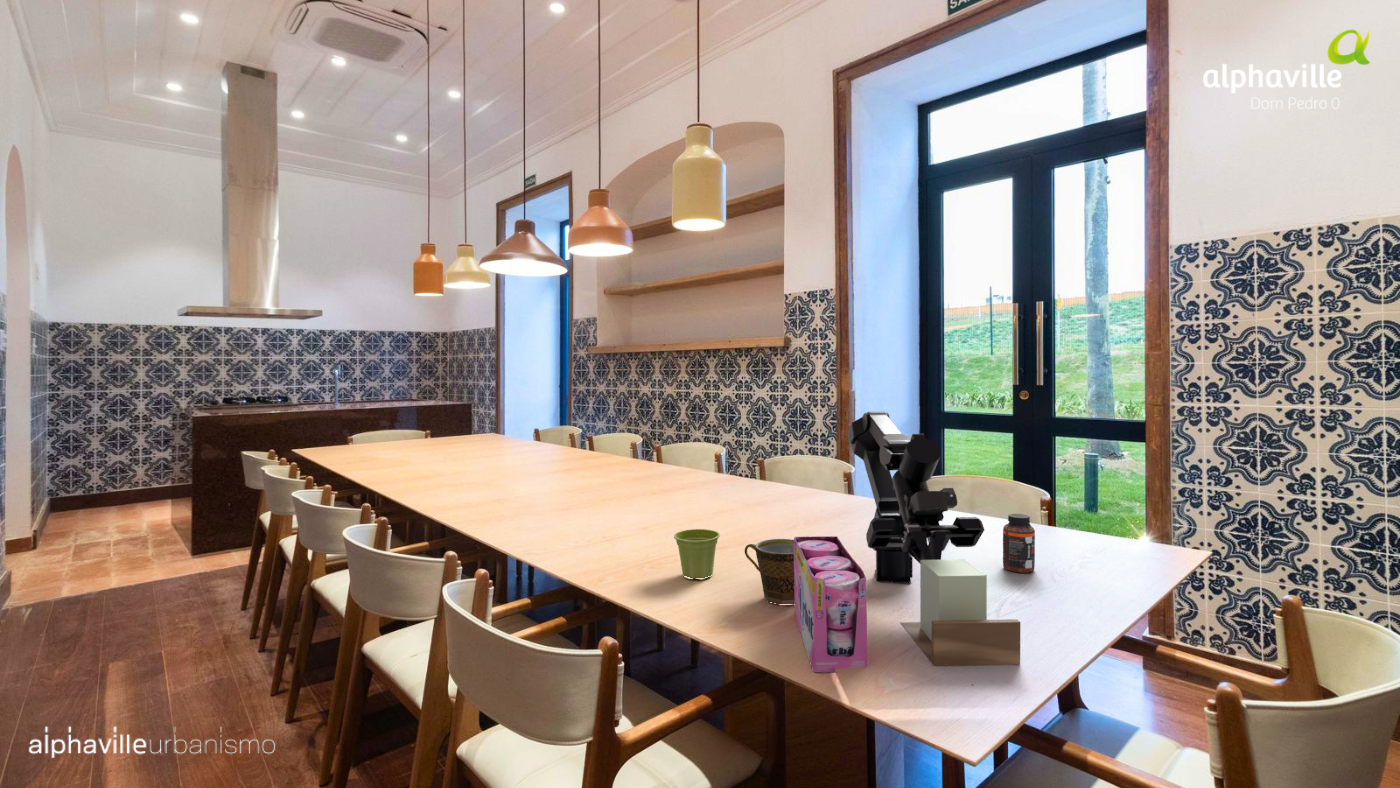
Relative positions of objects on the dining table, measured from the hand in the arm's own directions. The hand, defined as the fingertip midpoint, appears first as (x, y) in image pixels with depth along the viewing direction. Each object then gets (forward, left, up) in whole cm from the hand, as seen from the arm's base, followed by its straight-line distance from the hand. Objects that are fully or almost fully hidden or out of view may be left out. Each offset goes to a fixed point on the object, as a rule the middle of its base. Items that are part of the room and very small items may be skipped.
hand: (936, 578), depth 106 cm
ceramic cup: (-27, +9, -8) cm, 30 cm away
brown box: (+2, -8, -8) cm, 11 cm away
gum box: (-17, -8, -8) cm, 21 cm away
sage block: (+1, -6, -7) cm, 10 cm away
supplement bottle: (+21, +34, -8) cm, 41 cm away
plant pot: (-44, +19, -8) cm, 49 cm away
